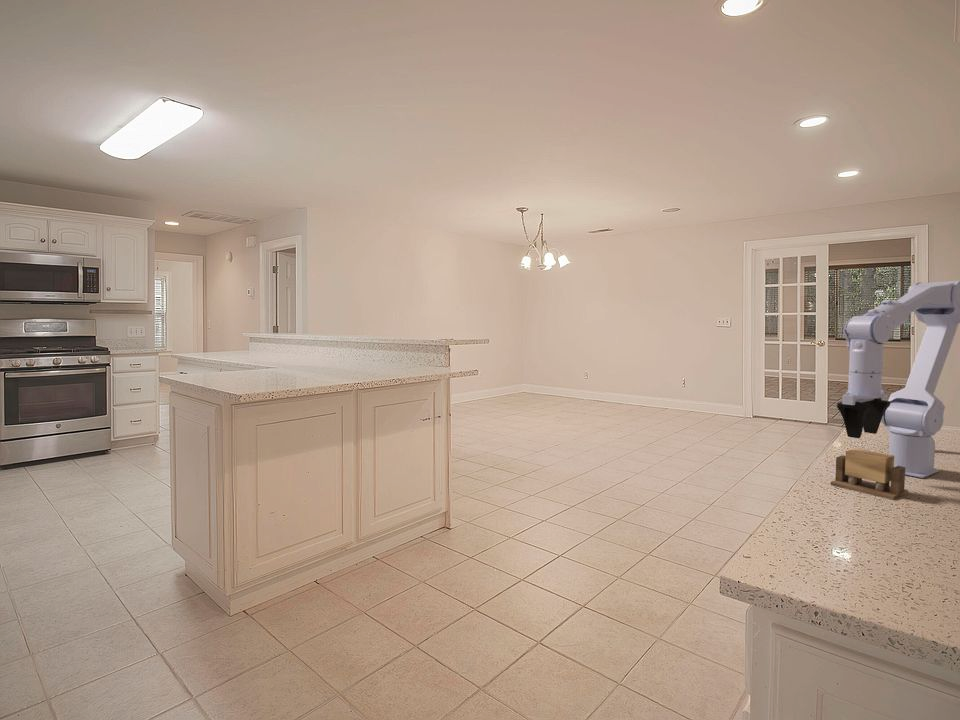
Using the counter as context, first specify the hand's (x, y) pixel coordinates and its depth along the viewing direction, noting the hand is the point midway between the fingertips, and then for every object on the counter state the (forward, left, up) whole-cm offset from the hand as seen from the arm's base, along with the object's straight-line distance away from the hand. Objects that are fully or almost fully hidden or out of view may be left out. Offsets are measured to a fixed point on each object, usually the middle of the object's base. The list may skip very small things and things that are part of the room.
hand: (862, 435), depth 112 cm
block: (+5, +3, -8) cm, 10 cm away
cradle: (+5, +4, -10) cm, 12 cm away
